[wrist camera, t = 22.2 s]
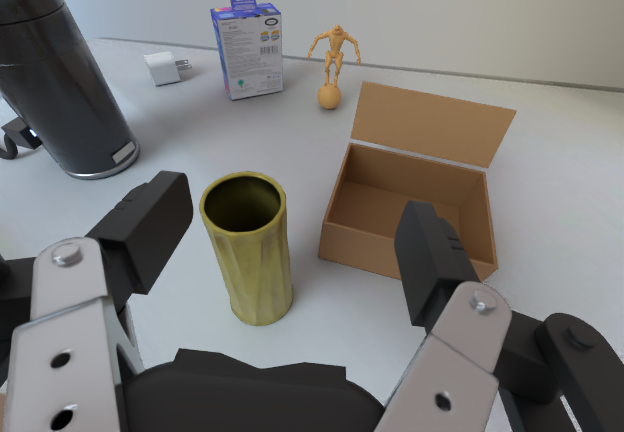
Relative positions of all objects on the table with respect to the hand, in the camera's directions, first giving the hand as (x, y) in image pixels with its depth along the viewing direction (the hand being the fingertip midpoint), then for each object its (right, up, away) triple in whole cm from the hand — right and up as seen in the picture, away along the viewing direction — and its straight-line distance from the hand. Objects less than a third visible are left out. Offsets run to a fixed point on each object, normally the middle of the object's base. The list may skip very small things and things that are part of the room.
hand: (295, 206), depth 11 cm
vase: (-4, -8, +18) cm, 21 cm away
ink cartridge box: (-10, +23, +42) cm, 49 cm away
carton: (+10, -2, +24) cm, 26 cm away
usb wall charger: (-25, +25, +43) cm, 56 cm away
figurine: (+4, +19, +40) cm, 45 cm away
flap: (+13, +9, +21) cm, 26 cm away
